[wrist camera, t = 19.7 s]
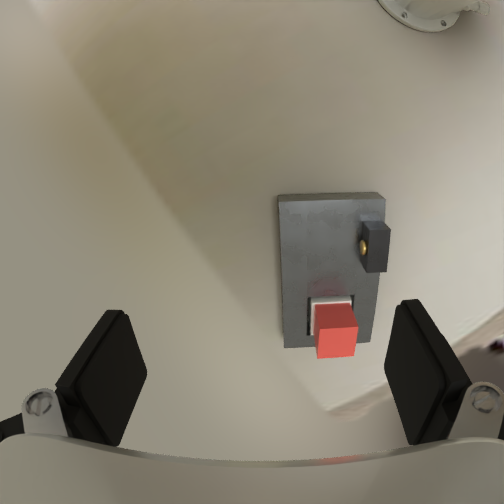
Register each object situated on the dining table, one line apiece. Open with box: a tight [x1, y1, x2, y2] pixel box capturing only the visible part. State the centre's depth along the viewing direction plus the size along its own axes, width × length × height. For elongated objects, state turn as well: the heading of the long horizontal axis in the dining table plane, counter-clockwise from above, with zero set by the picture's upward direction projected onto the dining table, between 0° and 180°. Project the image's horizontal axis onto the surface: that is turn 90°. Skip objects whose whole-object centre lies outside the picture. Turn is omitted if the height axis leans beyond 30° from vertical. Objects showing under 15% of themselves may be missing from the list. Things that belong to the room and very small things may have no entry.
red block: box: [313, 303, 358, 359], centre depth 37 cm, size 4×4×5 cm
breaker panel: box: [278, 193, 391, 348], centre depth 38 cm, size 12×20×6 cm, turn 4°
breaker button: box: [309, 295, 352, 335], centre depth 41 cm, size 5×5×3 cm
